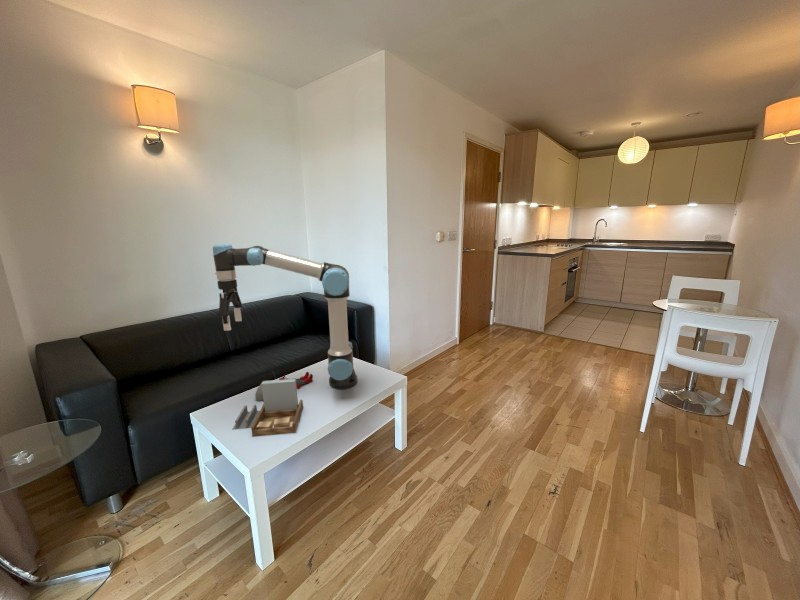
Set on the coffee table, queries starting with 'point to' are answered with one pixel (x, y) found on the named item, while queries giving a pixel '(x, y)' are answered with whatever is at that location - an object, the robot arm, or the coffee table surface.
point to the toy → (299, 381)
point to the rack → (274, 415)
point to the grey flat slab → (280, 395)
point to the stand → (246, 418)
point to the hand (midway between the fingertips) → (233, 325)
